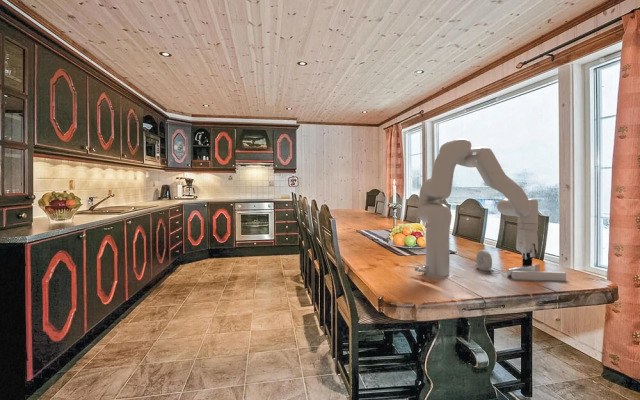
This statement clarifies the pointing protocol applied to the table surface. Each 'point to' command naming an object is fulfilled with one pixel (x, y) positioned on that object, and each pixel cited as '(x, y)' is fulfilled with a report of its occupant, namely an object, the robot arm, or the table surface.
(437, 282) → the table surface
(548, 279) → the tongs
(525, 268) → the arm
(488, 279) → the table surface
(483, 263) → the grey rounded slab
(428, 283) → the table surface
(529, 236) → the robot arm
